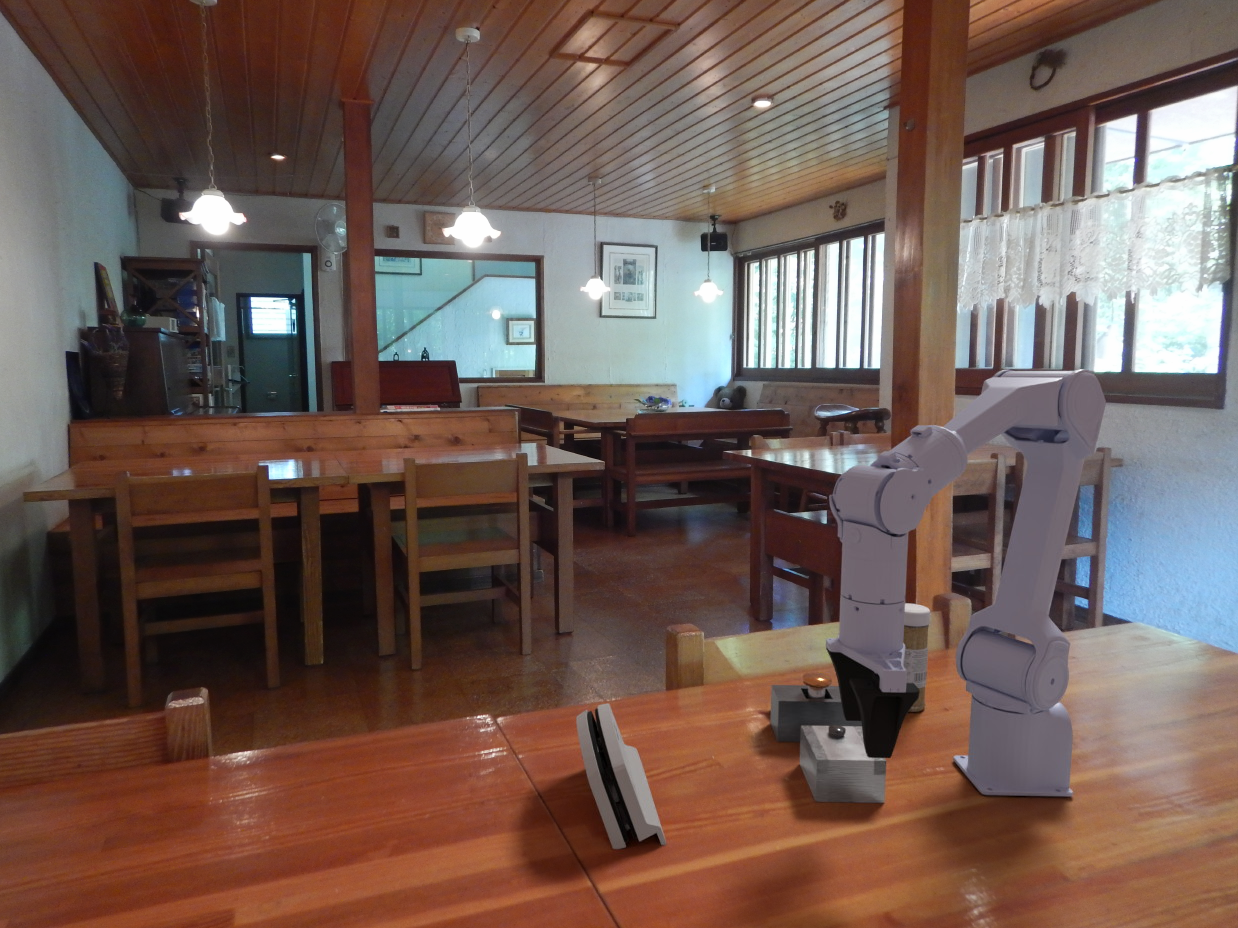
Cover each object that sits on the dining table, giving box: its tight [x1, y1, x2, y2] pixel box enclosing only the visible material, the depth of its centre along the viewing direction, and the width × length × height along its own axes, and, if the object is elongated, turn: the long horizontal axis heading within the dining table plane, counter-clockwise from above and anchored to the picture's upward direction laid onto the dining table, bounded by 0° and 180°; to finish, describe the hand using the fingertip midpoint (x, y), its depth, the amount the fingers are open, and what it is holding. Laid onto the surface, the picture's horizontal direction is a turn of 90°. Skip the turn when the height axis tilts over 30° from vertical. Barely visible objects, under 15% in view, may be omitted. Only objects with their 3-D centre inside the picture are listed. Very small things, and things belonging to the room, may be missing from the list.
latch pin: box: [802, 672, 833, 699], centre depth 97 cm, size 3×3×4 cm
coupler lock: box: [799, 725, 887, 804], centre depth 85 cm, size 8×7×5 cm
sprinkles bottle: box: [903, 602, 931, 713], centre depth 105 cm, size 5×5×13 cm
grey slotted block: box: [576, 703, 668, 850], centre depth 81 cm, size 17×5×10 cm, turn 7°
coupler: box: [770, 684, 862, 743], centre depth 98 cm, size 15×10×5 cm
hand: (866, 736), depth 75 cm, fingers open, 7 cm apart
